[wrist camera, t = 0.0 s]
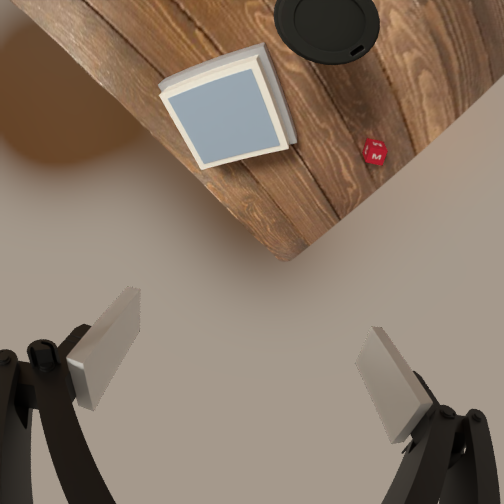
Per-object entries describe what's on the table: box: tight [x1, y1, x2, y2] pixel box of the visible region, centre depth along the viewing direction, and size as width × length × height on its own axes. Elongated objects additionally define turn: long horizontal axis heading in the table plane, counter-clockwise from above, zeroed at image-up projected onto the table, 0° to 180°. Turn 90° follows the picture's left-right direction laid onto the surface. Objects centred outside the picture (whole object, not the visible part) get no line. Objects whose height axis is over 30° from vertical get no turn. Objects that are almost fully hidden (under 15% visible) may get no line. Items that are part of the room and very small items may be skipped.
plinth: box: [158, 42, 297, 170], centre depth 38 cm, size 16×16×6 cm
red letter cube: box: [362, 138, 388, 166], centre depth 42 cm, size 3×3×3 cm
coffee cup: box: [274, 0, 380, 65], centre depth 22 cm, size 10×10×15 cm
